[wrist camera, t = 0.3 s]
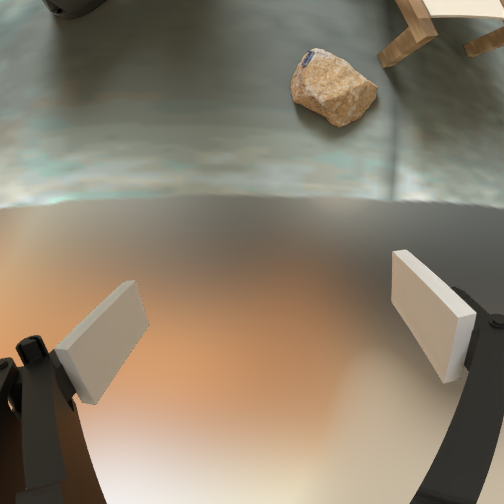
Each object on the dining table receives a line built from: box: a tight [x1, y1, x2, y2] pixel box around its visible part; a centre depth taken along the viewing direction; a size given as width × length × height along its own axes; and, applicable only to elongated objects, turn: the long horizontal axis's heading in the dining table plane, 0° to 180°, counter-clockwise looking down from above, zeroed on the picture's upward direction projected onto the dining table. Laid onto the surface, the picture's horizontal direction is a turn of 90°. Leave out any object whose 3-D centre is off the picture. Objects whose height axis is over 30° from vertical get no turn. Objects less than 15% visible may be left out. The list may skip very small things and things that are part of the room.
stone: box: [290, 48, 378, 127], centre depth 33 cm, size 8×10×4 cm
